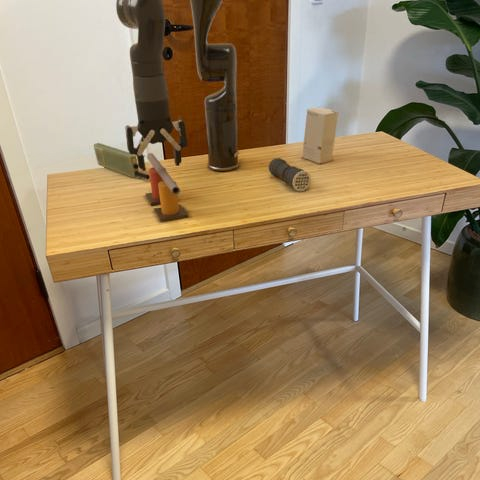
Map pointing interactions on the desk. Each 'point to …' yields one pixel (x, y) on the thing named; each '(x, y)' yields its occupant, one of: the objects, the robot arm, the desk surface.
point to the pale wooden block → (319, 134)
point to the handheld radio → (118, 160)
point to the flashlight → (290, 174)
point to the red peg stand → (154, 187)
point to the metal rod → (163, 174)
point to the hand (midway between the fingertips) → (160, 167)
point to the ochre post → (169, 205)
